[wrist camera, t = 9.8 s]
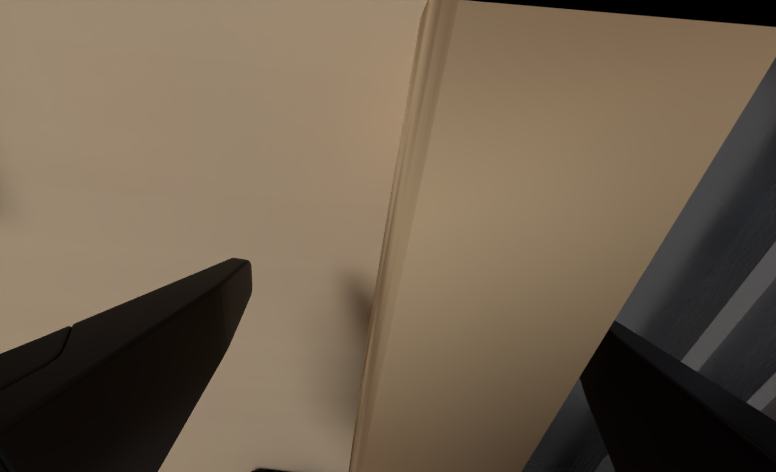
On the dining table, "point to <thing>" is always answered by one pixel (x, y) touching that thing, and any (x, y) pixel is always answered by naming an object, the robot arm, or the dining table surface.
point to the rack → (702, 288)
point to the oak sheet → (535, 207)
